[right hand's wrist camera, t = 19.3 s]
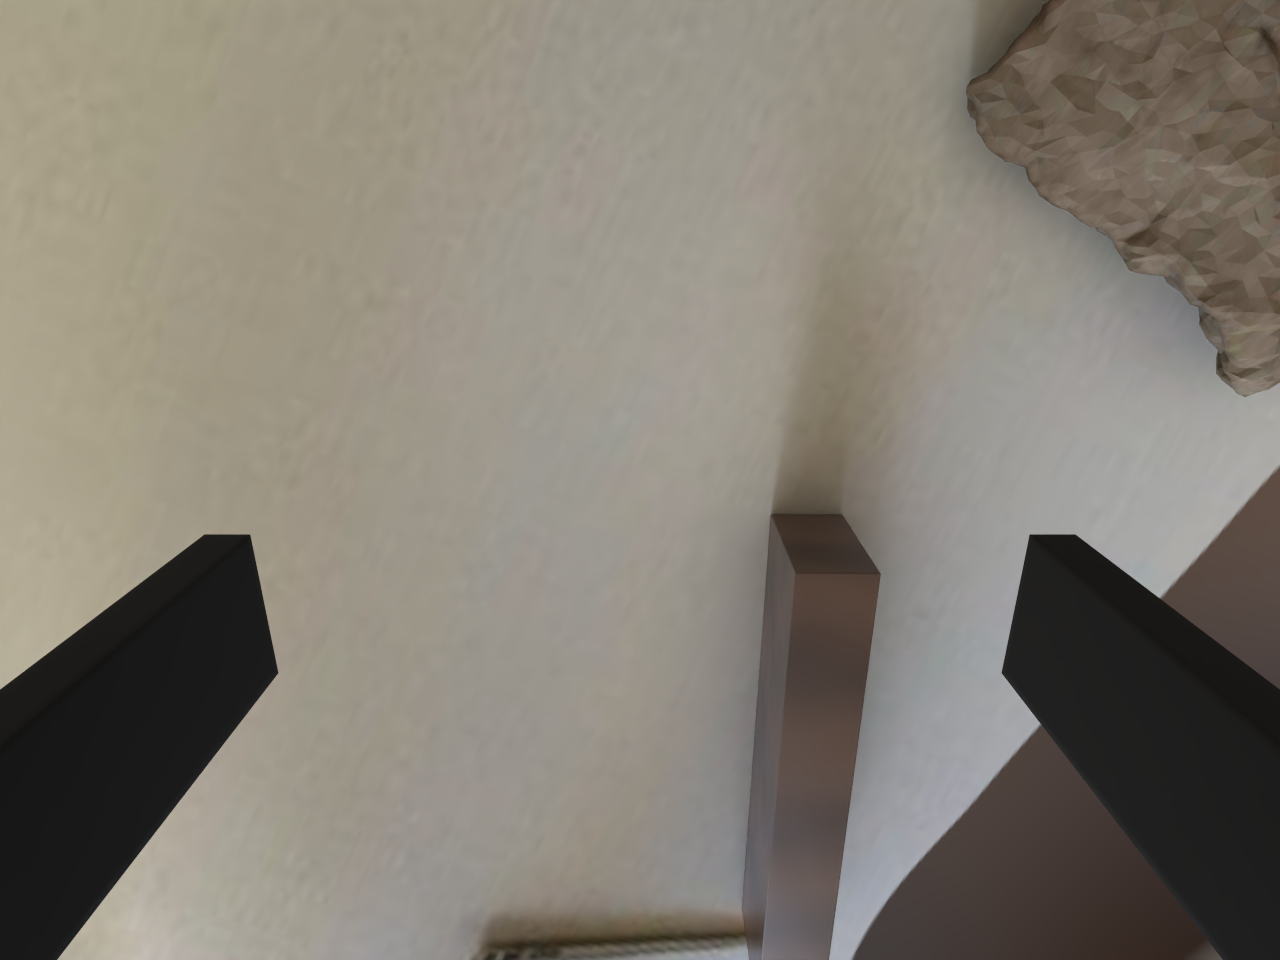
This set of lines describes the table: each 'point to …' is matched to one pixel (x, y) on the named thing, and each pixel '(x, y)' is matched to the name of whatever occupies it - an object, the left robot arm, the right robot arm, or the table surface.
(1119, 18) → the stone
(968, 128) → the table surface
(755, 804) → the walnut beam
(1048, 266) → the table surface
